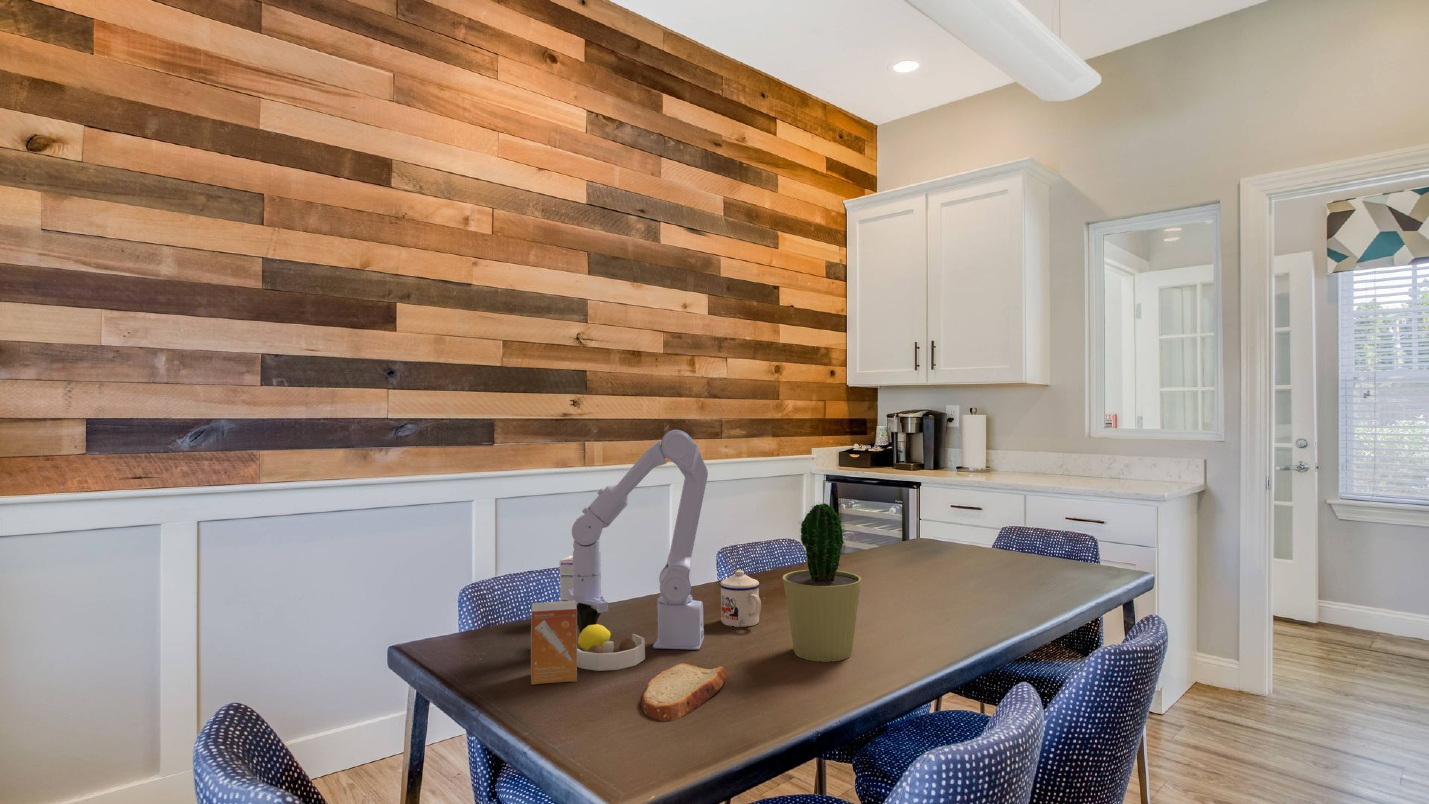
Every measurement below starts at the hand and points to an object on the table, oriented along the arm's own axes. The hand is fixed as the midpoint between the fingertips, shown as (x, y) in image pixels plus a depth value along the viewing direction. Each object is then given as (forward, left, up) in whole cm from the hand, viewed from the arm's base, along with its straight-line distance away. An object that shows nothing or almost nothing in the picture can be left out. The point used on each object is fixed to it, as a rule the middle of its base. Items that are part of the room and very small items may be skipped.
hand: (587, 640), depth 150 cm
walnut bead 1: (-5, +10, -1) cm, 11 cm away
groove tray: (-6, +6, -1) cm, 9 cm away
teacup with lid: (-31, -20, -2) cm, 36 cm away
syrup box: (+8, -20, -2) cm, 21 cm away
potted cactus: (-48, -1, -2) cm, 48 cm away
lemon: (-2, +3, -2) cm, 4 cm away
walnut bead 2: (-10, +5, -1) cm, 11 cm away
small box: (+1, +18, -2) cm, 18 cm away
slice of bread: (-24, +24, -2) cm, 34 cm away
